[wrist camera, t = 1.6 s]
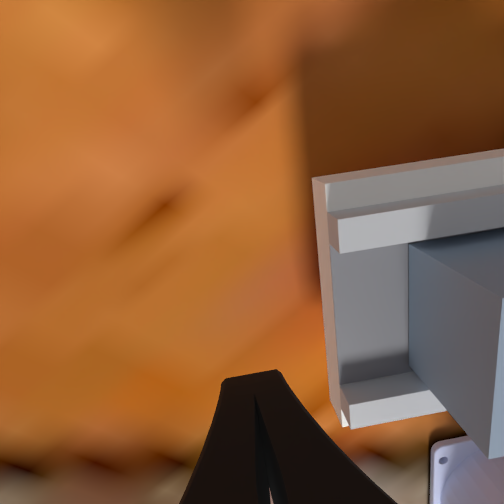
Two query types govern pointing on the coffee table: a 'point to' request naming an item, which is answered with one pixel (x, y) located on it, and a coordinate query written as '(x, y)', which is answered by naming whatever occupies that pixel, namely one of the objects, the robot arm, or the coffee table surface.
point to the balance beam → (390, 271)
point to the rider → (461, 330)
